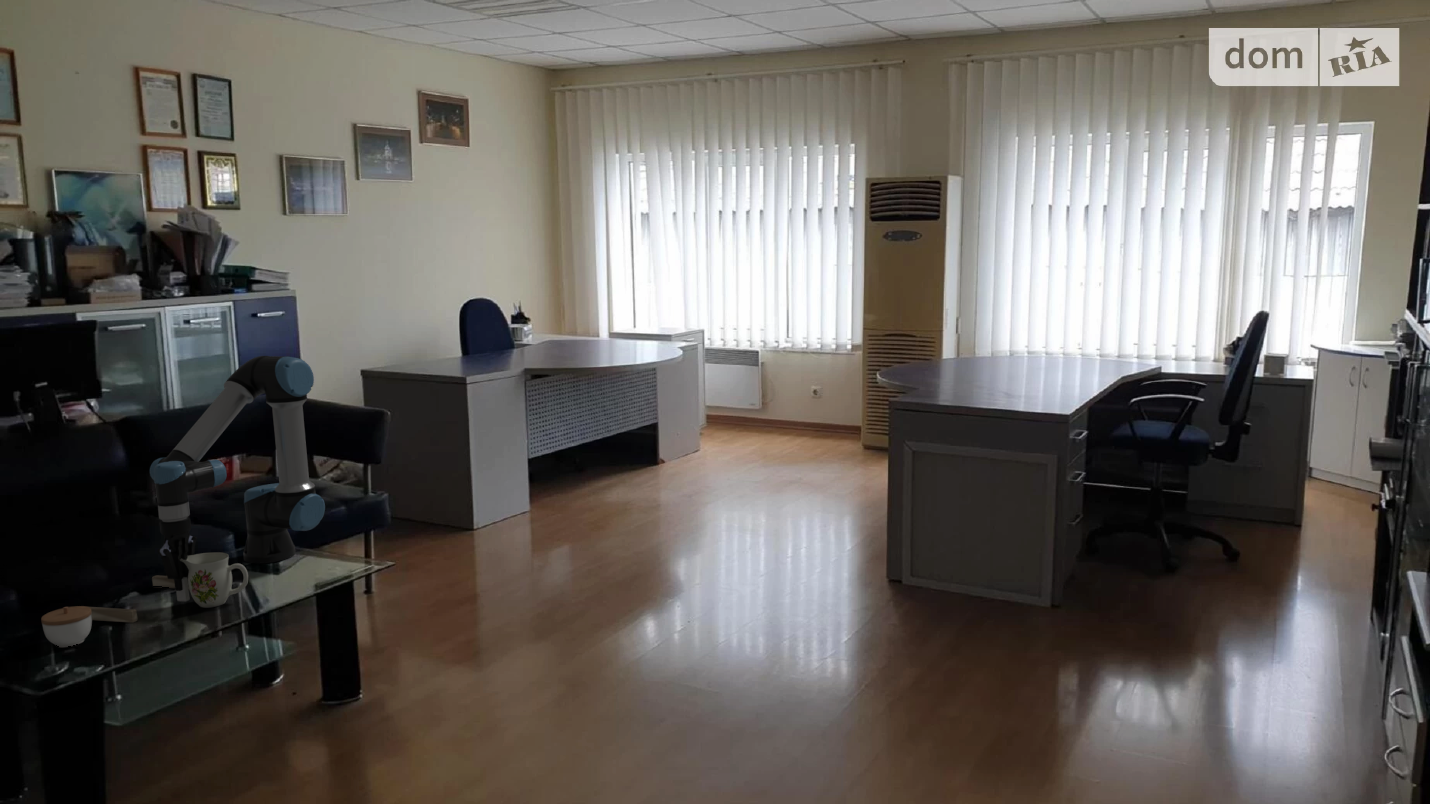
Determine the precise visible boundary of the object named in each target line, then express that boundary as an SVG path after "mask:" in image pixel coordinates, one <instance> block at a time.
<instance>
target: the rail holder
mask: <svg viewBox="0 0 1430 804" xmlns="http://www.w3.org/2000/svg"><path fill="white" fill-rule="evenodd" d="M151 581H152V582H151V583H152V587H153V586H162V587H169V588H168V589H175V583H174V579H168V578H167V575H154V576H152V578H151ZM162 587H161V588H162ZM188 588H189V587H188ZM88 607H89V608H91V611H92V613H91V616H92V621H100V622H101V621H102V622H103V621H104V622H116V623H117V622H118V623H119V622H120V623H135V622H137V621H138V613H137V612H138V611H137V609H134V608H133V609H132V608H118V607H117V608H115V607H114V608H113V607H98V606H97V607H96V606H88Z"/></svg>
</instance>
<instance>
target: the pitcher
mask: <svg viewBox="0 0 1430 804" xmlns="http://www.w3.org/2000/svg"><path fill="white" fill-rule="evenodd" d="M229 558H230V557H229V554H228V553H226V552H219V551H218V552H203V553H202V552H201V553H196V554H194V555H189V556H188V558H187V560H183V559H182V558H181V559H180V561H182V562H184V563H185V565H186V566H187V568H188V570H189V573H188V586H189V594H191V597H192V599H193V600H194V602H195V603H196V604H197V605H198V606H199V607H200V608H206V609H207V608H208V609H209V608H214V607H219V606H222V605H224V604H225V603H226V601H227V600H228V599H229V596H233V595H235V594H236V595H237V594H238V593H240V592H242V591H243V590H244V589H245V588H246V587H247V585H248V582H249V573H248V570H247V568H246V567H245V565H243V564H241V563H233V564H231V565H229ZM235 569H238V570H240V571H241V573H242V576H243V581H242V583H241V584H240V585H239V586H237V587H236V588H232V585H233V574H232V573H233V572H232V571H233V570H235Z"/></svg>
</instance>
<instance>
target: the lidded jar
mask: <svg viewBox="0 0 1430 804" xmlns="http://www.w3.org/2000/svg"><path fill="white" fill-rule="evenodd" d="M89 607H90V606H86V605H85V606H84V605H81V606H80V605H79V606H78V605H77V606H76V605H75V606H64V607H62V608H58V609H55V610H52V611H50V612H47V613H46V614H44V615H42V616H41V620H40V621H41V625H42V630H43V633H44V636H45V638H46V639H47V640H48V641H49V642H50V643H51V644H53V645H55V646H56V645H57V646H59V647H58V648H69V647H68V646H71V647H74V646H73V645H75V646H77V645H76V644H78V645H79V644H82V643H84V641H85V640H86V638H87V637H88V635H89V634H90V633H91V629H92V624H93V620H92V616H91V613H92V611H91V608H89ZM57 646H56V647H57Z"/></svg>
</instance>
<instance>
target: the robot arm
mask: <svg viewBox="0 0 1430 804" xmlns="http://www.w3.org/2000/svg"><path fill="white" fill-rule="evenodd" d="M314 378H315V377H314V373H313V369H312V368H311V367H310V365H309V364H308V363H307V362H306V361H305V360H303V359H301V358H298V357H294V356H293V357H292V356H284V355H283V356H279V355H277V356H276V355H275V356H273V355H271V356H270V355H259V356H256V357H253V358H250V359H249V360H247V361H246V362H245V363H243V364H242V365H241V366H239V367H238V368H237V369H236V370H235V371H234V372H233V373H232V374H231V375H230V376H229V377H228V378H227V379H226V380H225V382H224V383H223V387H224V388H223V390H222V391H221V392H220V393H219V394H218V396H217V397H216V398H215V399H214V400H213V402H212V403H211V404H210V405H209V406H208V407H207V409H206V410H205V411H204V412H203V413H202V415H201V416H200V417H199V418H198V420H197V421H196V422H195V423H194V424H193V425H192V427H191V428H190V429H189V430H187V432H186V434H185V435H184V436H183V437H182V438H181V440H180V441H179V442H178V443H177V445H175V447H174V448H173V449H172V450H171V451H170V453H169V454H168V455H166V457H165V456H164V457H159V458H157V459H155V460H153V462H152V463H151V465H150V466H149V476H150V477H151V479H152V480H153V482H154V486H155V487H154V488H155V494H156V502H157V511H158V519H159V532H160V534H161V535H163V537H164V539H163V546H162V547H161V548H158V549H157V553H158V554H159V556H160V558H161V561H162V564H163V568H164V571H165V574H166V576H167V578H168V579H174V583H175V588H174V590H175V593H176V600H177V602H188V601H190V600H191V599H190V590H189V588H188V587H189V586H188V573H189V570H188V568H187V566H186V565H185V563H184V562H182V561H180V559H181V558H182V559H183V560H187V558H188V556H189V555H195V549H196V547H195V546H196V542H197V540H198V537H197V536H194V535H193V536H192V535H191V534H190V531H191V529H192V524H191V523H192V521H191V517H190V515H191V513H190V503H189V494H190V493H194V492H198V491H204V490H207V489H210V488H212V489H214V487H217V486H221V485H222V484H223V483H224V482H226V479H227V468H226V466H225V464H224V463H223V462H222V461H220V460H219V459H207V460H206V461H201V459H202V458H203V457H204V456H205V455H206V453H207V452H208V451H209V450H210V448H211V447H212V446H213V445H214V444H215V442H216V441H217V440H218V439H219V438H220V437H221V435H222V434H223V432H224V431H225V430H226V429H228V426H229V425H230V424H231V423H232V421H233V420H234V419H235V418H236V417H237V415H239V413H240V412H241V411H242V410H243V408H244V407H245V406H246V405H247V404H251V403H253V401H254V400H255V399H256V398H257V397H259V396H261V395H264V394H265V402H266V403H265V404H268V405H269V406H270V407H271V408H272V410H271V411H272V420H273V431H274V441H275V451H276V460H277V461H276V463H277V472H278V481H279V482H277V483H270V484H269V483H268V484H262V485H258V486H254V487H251V488H249V489H246V490H245V492H244V493H243V496H244V497H243V498H244V499H243V504H244V513H245V521H246V523H245V524H246V532H247V537H246V541H245V546H244V549H243V552H242V553H243V561H245V562H246V563H249V564H269V563H270V564H271V563H275V562H276V563H277V562H280V561H283V560H287V559H290V558H292V557H293V556H295V555H296V546H295V544H294V542H293V540H292V537H291V535H290V533H289V531H288V530H292V531H295V532H296V531H297V532H298V531H303V532H305V531H306V532H307V531H310V530H313V529H315V528H316V527H317V526H318V525H319V524H320V522H321V520H322V519H323V517H324V515H325V512H326V511H325V510H326V505H325V500H324V499H323V498H322V497H321V496H320V495H319V494H317V493H316V485H315V483H313V482H312V481H311V480H310V477H309V475H310V474H309V463H308V462H309V461H308V454H307V452H308V451H307V443H306V429H305V421H304V420H305V419H304V409H303V406H304V404H305V402H306V401H307V400H308V394H309V393H310V392H311V390H312V387H314V383H315V382H314V381H315V379H314Z"/></svg>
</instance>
